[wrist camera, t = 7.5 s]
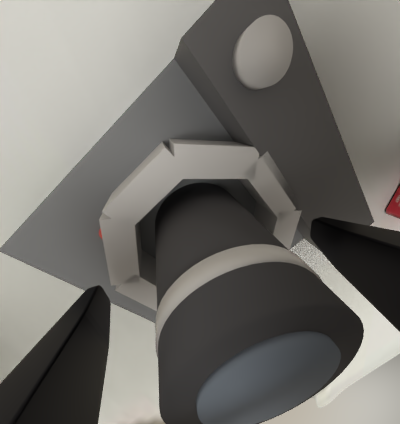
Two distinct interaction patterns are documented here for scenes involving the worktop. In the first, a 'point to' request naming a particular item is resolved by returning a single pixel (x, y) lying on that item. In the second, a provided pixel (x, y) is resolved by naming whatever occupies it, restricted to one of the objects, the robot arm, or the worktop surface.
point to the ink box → (394, 205)
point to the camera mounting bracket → (200, 155)
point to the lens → (239, 315)
